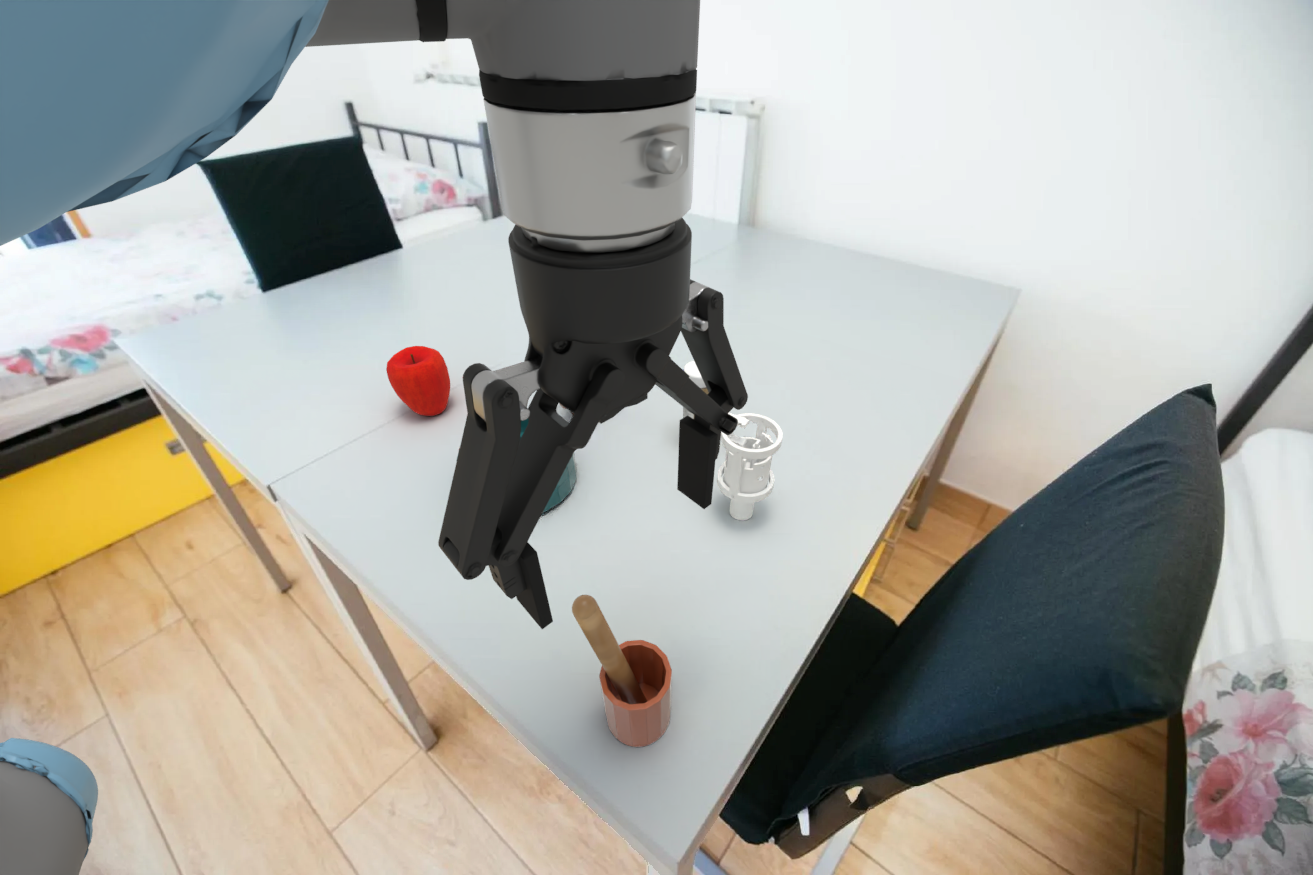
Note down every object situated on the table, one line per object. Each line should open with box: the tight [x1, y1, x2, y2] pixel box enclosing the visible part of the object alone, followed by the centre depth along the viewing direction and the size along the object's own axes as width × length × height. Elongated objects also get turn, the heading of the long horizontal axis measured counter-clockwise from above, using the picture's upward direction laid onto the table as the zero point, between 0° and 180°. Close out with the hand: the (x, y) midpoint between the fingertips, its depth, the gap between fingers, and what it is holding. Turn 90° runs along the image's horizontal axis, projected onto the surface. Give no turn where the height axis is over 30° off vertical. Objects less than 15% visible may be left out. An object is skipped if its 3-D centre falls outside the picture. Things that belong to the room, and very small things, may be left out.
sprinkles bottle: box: [682, 360, 709, 419], centre depth 78 cm, size 5×5×14 cm
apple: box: [386, 345, 451, 417], centre depth 86 cm, size 9×9×11 cm
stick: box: [571, 594, 647, 704], centre depth 47 cm, size 2×2×18 cm
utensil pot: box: [598, 639, 673, 748], centre depth 50 cm, size 6×6×8 cm
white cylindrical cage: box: [716, 412, 784, 522], centre depth 67 cm, size 7×7×15 cm
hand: (622, 548), depth 36 cm, fingers open, 13 cm apart
